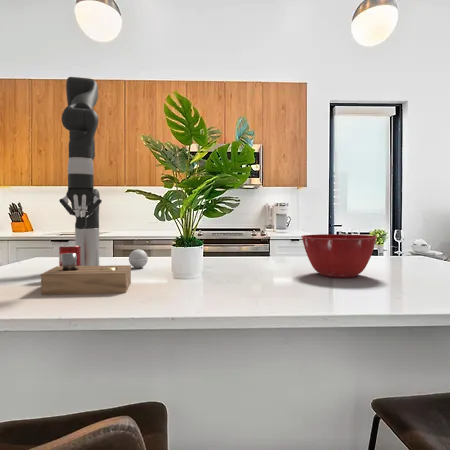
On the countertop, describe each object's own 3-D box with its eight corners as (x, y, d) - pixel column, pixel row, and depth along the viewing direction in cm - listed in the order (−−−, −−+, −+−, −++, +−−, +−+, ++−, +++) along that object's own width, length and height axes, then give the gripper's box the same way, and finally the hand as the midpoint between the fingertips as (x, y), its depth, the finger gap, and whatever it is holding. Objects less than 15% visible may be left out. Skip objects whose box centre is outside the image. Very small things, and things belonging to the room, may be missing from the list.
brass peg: (103, 285, 126) (103, 267, 125) (116, 285, 126) (116, 267, 126) (101, 288, 122) (101, 269, 121) (114, 287, 122) (114, 268, 122)
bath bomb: (130, 266, 171) (130, 248, 171) (148, 266, 172) (148, 248, 171) (127, 269, 163) (127, 250, 163) (147, 269, 164) (146, 250, 164)
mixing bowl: (293, 278, 144) (294, 236, 144) (307, 268, 171) (308, 232, 170) (375, 284, 134) (376, 239, 133) (377, 272, 160) (377, 234, 159)
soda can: (73, 281, 135) (73, 246, 135) (54, 280, 137) (54, 246, 136) (85, 277, 142) (85, 244, 142) (67, 276, 144) (67, 244, 143)
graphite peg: (64, 271, 124) (64, 253, 123) (77, 271, 124) (77, 252, 124) (61, 273, 120) (60, 254, 120) (74, 273, 120) (74, 254, 120)
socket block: (56, 284, 129) (56, 266, 129) (130, 282, 133) (130, 265, 133) (41, 294, 113) (41, 274, 113) (125, 292, 117) (125, 272, 117)
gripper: (104, 174, 126) (104, 228, 127) (61, 173, 124) (61, 228, 125) (101, 172, 119) (101, 229, 120) (55, 171, 117) (55, 229, 117)
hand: (81, 228), depth 122 cm, fingers closed
